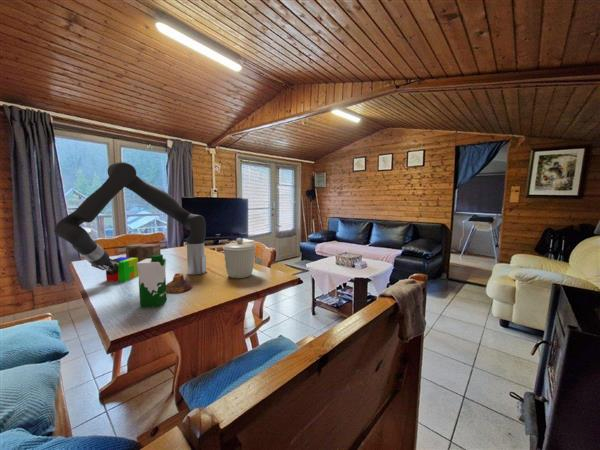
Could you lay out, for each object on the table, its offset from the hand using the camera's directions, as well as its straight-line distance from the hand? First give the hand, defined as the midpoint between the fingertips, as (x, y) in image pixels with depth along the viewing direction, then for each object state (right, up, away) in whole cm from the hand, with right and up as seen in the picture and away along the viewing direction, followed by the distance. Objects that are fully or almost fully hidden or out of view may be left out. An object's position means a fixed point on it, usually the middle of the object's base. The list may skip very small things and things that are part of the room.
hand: (115, 272), depth 131 cm
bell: (+36, -7, -8) cm, 37 cm away
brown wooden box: (0, -2, +25) cm, 25 cm away
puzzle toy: (0, -4, +6) cm, 8 cm away
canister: (+60, -4, +13) cm, 61 cm away
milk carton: (+34, -8, -26) cm, 43 cm away
